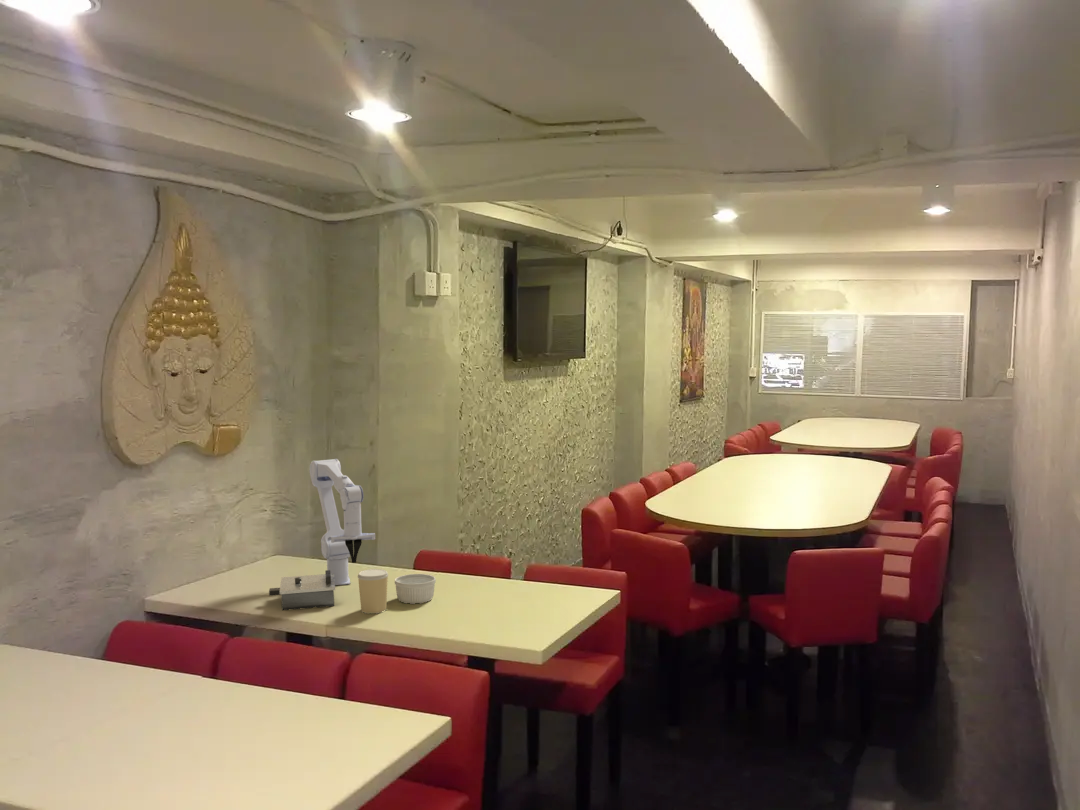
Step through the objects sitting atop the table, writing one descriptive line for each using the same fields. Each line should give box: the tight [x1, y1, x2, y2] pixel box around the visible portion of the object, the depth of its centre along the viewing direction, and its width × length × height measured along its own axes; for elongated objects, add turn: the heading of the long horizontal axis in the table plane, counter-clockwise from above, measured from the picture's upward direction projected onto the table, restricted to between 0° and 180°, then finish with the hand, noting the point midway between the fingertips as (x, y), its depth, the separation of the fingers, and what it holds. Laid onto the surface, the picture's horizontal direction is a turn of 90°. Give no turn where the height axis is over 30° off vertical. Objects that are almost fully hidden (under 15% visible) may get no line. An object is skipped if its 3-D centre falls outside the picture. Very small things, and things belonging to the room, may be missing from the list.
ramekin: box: [394, 573, 437, 605], centre depth 285 cm, size 13×13×7 cm
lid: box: [279, 569, 336, 594], centre depth 284 cm, size 17×17×3 cm
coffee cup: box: [357, 568, 389, 614], centre depth 274 cm, size 9×9×12 cm
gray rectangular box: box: [268, 587, 335, 611], centre depth 284 cm, size 16×20×5 cm
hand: (353, 562), depth 293 cm, fingers closed
